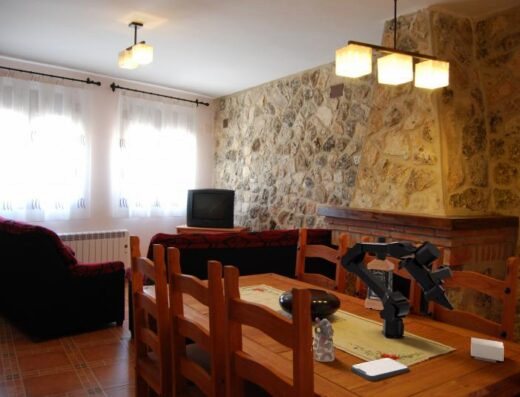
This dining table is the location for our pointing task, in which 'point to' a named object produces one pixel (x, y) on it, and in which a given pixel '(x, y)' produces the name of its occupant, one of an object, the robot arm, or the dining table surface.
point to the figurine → (323, 341)
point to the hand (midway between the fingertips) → (452, 309)
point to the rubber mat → (484, 359)
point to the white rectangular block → (487, 349)
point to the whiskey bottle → (379, 277)
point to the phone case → (379, 369)
